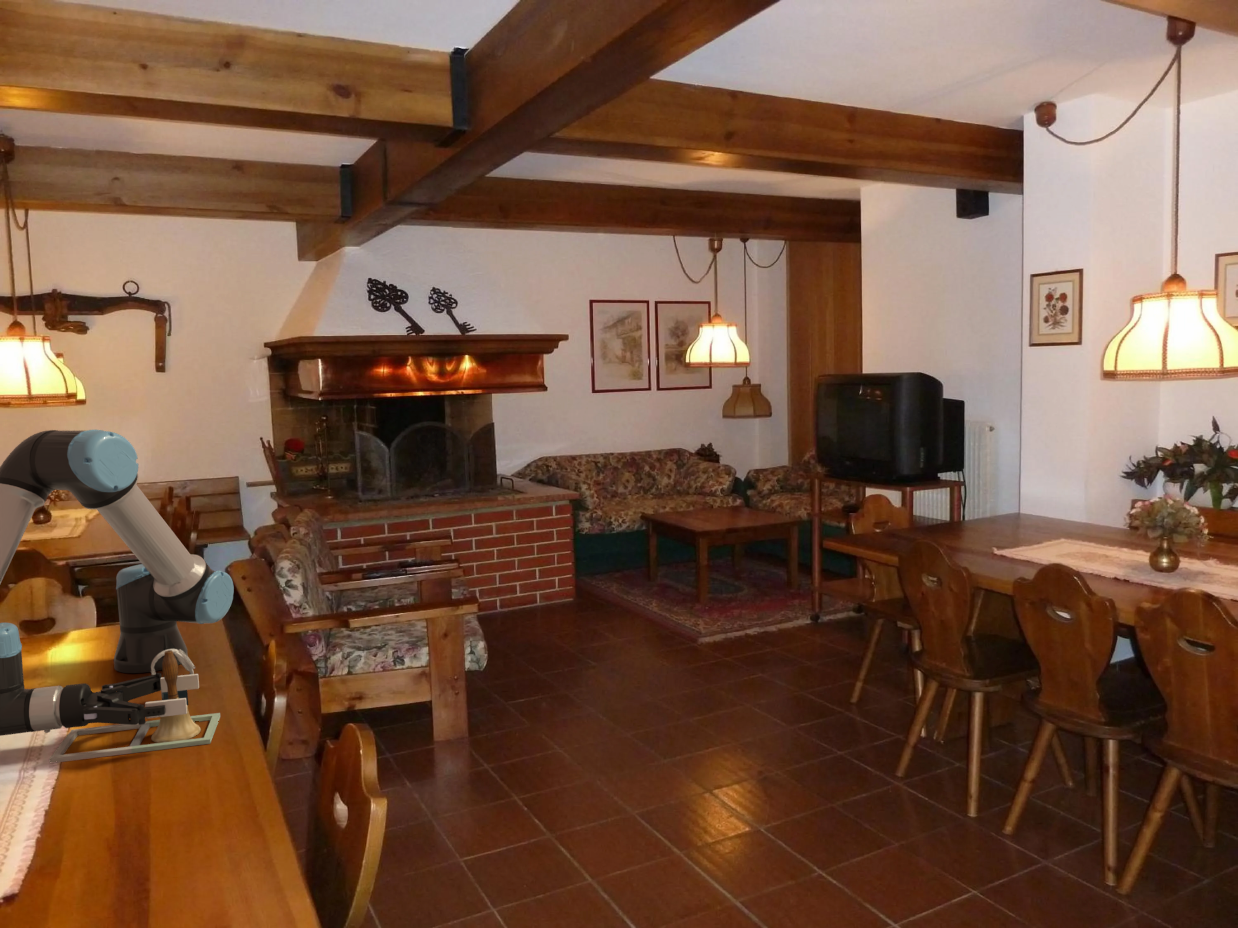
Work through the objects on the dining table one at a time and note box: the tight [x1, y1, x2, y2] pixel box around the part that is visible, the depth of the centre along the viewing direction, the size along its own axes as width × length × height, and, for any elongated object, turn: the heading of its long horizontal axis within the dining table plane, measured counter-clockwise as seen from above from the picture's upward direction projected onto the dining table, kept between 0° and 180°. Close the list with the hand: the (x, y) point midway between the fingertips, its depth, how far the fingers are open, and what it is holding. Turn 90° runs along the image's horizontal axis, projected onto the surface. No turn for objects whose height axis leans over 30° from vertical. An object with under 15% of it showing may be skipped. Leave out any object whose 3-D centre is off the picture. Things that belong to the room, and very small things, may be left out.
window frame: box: [49, 712, 221, 763], centre depth 170 cm, size 13×26×1 cm, turn 106°
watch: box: [150, 649, 196, 706], centre depth 188 cm, size 6×8×11 cm
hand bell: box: [150, 650, 202, 743], centre depth 171 cm, size 8×8×16 cm
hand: (192, 692), depth 172 cm, fingers open, 13 cm apart
